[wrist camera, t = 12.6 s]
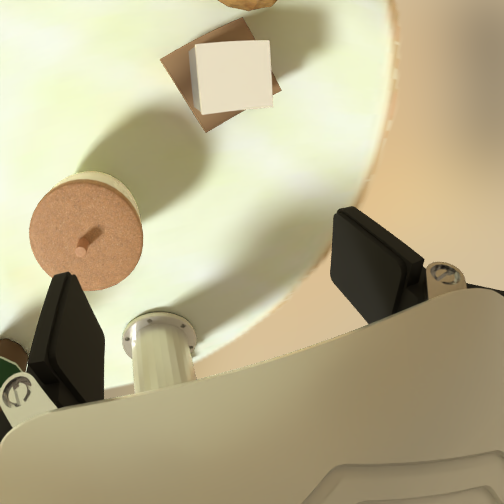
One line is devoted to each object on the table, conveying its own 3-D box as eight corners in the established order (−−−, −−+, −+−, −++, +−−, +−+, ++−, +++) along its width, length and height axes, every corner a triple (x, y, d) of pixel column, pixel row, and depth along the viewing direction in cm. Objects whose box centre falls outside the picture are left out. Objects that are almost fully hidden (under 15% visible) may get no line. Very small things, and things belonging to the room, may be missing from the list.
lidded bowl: (90, 137, 32) (69, 161, 23) (163, 202, 39) (170, 245, 30) (33, 212, 33) (4, 258, 24) (103, 266, 41) (96, 320, 32)
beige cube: (251, 101, 31) (273, 107, 26) (192, 108, 29) (202, 114, 24) (248, 45, 27) (269, 40, 22) (187, 50, 26) (195, 44, 21)
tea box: (265, 87, 35) (281, 90, 31) (198, 125, 35) (206, 132, 31) (230, 24, 30) (242, 17, 25) (158, 61, 30) (160, 59, 26)
